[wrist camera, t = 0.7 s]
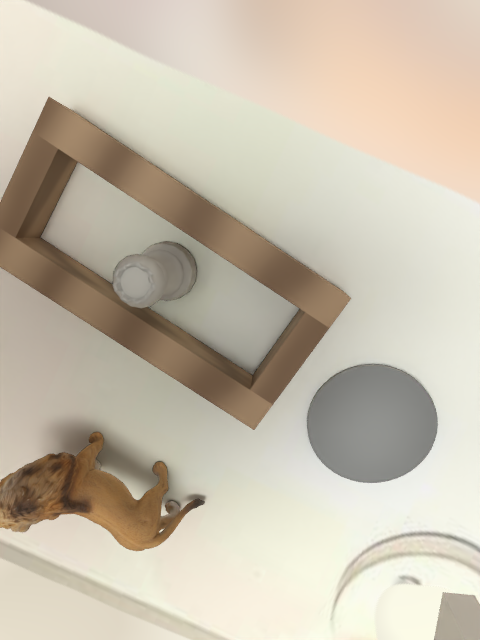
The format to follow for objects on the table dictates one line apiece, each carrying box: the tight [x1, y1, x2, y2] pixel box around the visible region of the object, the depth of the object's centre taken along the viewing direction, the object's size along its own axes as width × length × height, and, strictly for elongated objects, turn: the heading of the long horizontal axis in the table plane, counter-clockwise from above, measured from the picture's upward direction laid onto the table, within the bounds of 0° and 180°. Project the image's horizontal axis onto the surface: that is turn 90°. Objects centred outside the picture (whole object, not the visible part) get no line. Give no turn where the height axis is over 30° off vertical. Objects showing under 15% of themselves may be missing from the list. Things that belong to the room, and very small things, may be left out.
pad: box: [307, 364, 438, 483], centre depth 32 cm, size 10×10×1 cm
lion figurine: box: [0, 432, 205, 551], centre depth 31 cm, size 15×5×9 cm, turn 71°
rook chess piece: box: [112, 241, 197, 308], centre depth 27 cm, size 4×4×8 cm
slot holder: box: [0, 97, 351, 430], centre depth 29 cm, size 24×12×3 cm, turn 57°
